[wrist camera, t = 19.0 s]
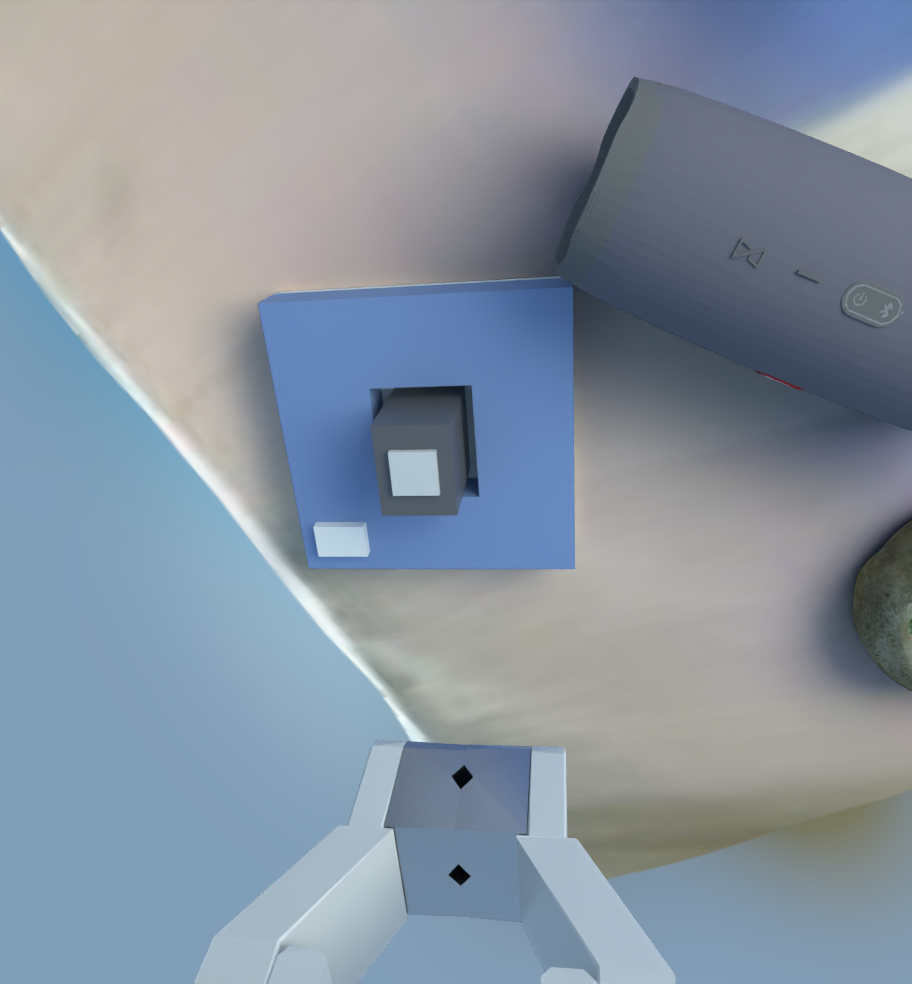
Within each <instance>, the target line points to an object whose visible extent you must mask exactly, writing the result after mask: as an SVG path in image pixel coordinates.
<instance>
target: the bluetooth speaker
mask: <svg viewBox="0 0 912 984" xmlns="http://www.w3.org/2000/svg"><path fill="white" fill-rule="evenodd" d="M552 272H553V273H554V274H556V275H558V276H559V277H561V278H563V279H564V280H566V281H568V282H570V283H571V284H573V285H574V286H576V287H578V288H579V289H581V290H583V291H585V292H587V293H589V294H590V295H592V296H594V297H596V298H598V299H600V300H602V301H604V302H606V303H608V304H610V305H612V306H615V307H617V308H619V309H621V310H623V311H625V312H627V313H629V314H631V315H634V316H636V317H638V318H640V319H642V320H644V321H646V322H648V323H651V324H653V325H655V326H657V327H659V328H661V329H663V330H666V331H668V332H670V333H672V334H674V335H677V336H679V337H681V338H683V339H686V340H688V341H690V342H692V343H695V344H697V345H699V346H701V347H704V348H706V349H708V350H710V351H713V352H715V353H717V354H719V355H722V356H724V357H726V358H728V359H731V360H733V361H735V362H737V363H740V364H742V365H744V366H747V367H749V368H752V369H754V370H755V371H756V372H758V373H759V374H761V375H763V376H764V377H766V378H769V379H771V380H773V381H776V382H778V383H781V384H784V385H786V386H788V387H789V386H791V387H793V388H795V389H800V390H805V391H807V392H810V393H812V394H815V395H817V396H820V397H823V398H825V399H828V400H830V401H833V402H835V403H838V404H841V405H843V406H846V407H848V408H851V409H854V410H856V411H859V412H862V413H864V414H867V415H870V416H872V417H875V418H877V419H880V420H883V421H885V422H888V423H891V424H893V425H896V426H899V427H902V428H904V429H907V430H910V431H912V179H911V178H909V177H907V176H904V175H902V174H900V173H898V172H895V171H893V170H891V169H888V168H886V167H884V166H881V165H879V164H877V163H874V162H872V161H869V160H867V159H864V158H862V157H860V156H857V155H855V154H852V153H850V152H847V151H845V150H842V149H840V148H837V147H835V146H832V145H830V144H827V143H825V142H822V141H820V140H817V139H815V138H812V137H810V136H807V135H805V134H802V133H800V132H797V131H795V130H792V129H790V128H787V127H785V126H782V125H779V124H777V123H774V122H771V121H769V120H766V119H763V118H760V117H758V116H755V115H752V114H750V113H747V112H744V111H742V110H739V109H736V108H734V107H731V106H728V105H725V104H723V103H720V102H717V101H715V100H712V99H709V98H707V97H704V96H701V95H698V94H696V93H692V92H689V91H686V90H683V89H680V88H677V87H673V86H669V85H665V84H661V83H658V82H654V81H650V80H645V79H641V78H636V77H634V78H633V79H632V80H631V82H630V84H629V85H628V87H627V89H626V91H625V93H624V95H623V97H622V99H621V101H620V103H619V105H618V107H617V109H616V111H615V113H614V115H613V117H612V119H611V122H610V124H609V126H608V128H607V130H606V133H605V136H604V138H603V141H602V144H601V147H600V151H599V155H598V158H597V161H596V164H595V167H594V169H593V172H592V174H591V176H590V179H589V181H588V183H587V185H586V187H585V189H584V191H583V193H582V195H581V197H580V198H579V200H578V202H577V204H576V205H575V207H574V209H573V211H572V214H571V216H570V218H569V220H568V223H567V226H566V228H565V231H564V234H563V236H562V239H561V242H560V245H559V247H558V250H557V253H556V256H555V259H554V263H553V266H552Z"/></svg>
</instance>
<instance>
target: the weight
mask: <svg viewBox="0 0 912 984" xmlns="http://www.w3.org/2000/svg"><path fill="white" fill-rule="evenodd" d="M853 622H854V626H855V628H856V631H857V633H858V635H859V638H860V640H861V642H862V644H863V646H864V647H865V649H866V651H867V652H868V654H869V656H870V657H871V658H872V659H873V661H874V662H875V663H876V664H877V665H878V666H879V668H880V669H881V670H882V671H883V672H884V673H885V674H886V675H887V676H888V677H890V678H891V679H892V680H894V681H895V682H896V683H898V684H899V685H901V686H903V687H904V688H906V689H908V690H910V691H912V520H911V521H910V522H908V523H907V524H906V525H904V526H903V527H902V528H900V529H899V530H898V531H897V532H896V533H895V534H894V535H893V536H892V537H891V538H890V539H889V540H888V541H887V542H886V543H885V545H884V546H883V547H882V549H881V550H880V551H878V552H877V553H876V554H875V555H873V556H872V557H871V558H870V559H869V560H868V561H867V562H866V563H865V564H864V566H863V567H862V568H861V570H860V571H859V573H858V575H857V580H856V584H855V588H854V602H853Z"/></svg>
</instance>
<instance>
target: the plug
mask: <svg viewBox="0 0 912 984" xmlns="http://www.w3.org/2000/svg"><path fill="white" fill-rule="evenodd" d="M370 428H371V436H372V444H373V451H374V459H375V467H376V475H377V482H378V490H379V498H380V506H381V513H382V516H458V512H459V508H460V504H461V501H462V497H463V493H464V489H465V485H466V482H467V478H468V474H469V470H470V457H469V442H468V427H467V412H466V397H465V386H436V387H404V388H394V389H393V391H392V393H391V394H390V396H389V397H388V399H387V400H386V402H385V404H384V405H383V407H382V408H381V410H380V411H379V413H378V415H377V416H376V418H375V419H374V421H373V423H372V424H371V426H370Z"/></svg>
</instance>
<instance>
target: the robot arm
mask: <svg viewBox="0 0 912 984" xmlns="http://www.w3.org/2000/svg"><path fill="white" fill-rule="evenodd" d="M407 914H408V915H432V916H456V917H457V916H459V917H471V918H480V919H491V920H500V921H510V922H520V923H522V927H523V929H524V931H525V933H526V935H527V937H528V939H529V941H530V943H531V945H532V947H533V949H534V951H535V954H536V955H537V957H538V960H539V962H540V964H541V966H542V967H543V969H544V971H545V973H544V974H543V975H542V976H541V984H676V980H675V974H674V973H673V972H672V970H671V969H670V968H669V966H668V965H667V963H666V962H665V960H664V959H663V958H662V956H661V955H660V954H659V952H658V951H657V949H656V948H655V947H654V945H653V944H652V942H651V941H650V940H649V938H648V937H647V935H646V934H645V933H644V931H643V930H642V928H641V927H640V926H639V924H638V923H637V922H636V920H635V919H634V917H633V916H632V915H631V913H630V912H629V910H628V909H627V908H626V906H625V905H624V903H623V902H622V901H621V899H620V898H619V897H618V895H617V894H616V892H615V891H614V890H613V888H612V887H611V885H610V884H609V883H608V881H607V880H606V878H605V877H604V876H603V874H602V873H601V872H600V870H599V869H598V867H597V866H596V865H595V863H594V862H593V860H592V859H591V858H590V856H589V855H588V854H587V852H586V851H585V849H584V848H583V847H582V845H581V844H580V842H579V841H578V840H577V839H575V838H567V794H566V751H565V748H564V747H544V746H506V745H459V744H443V743H427V742H411V741H407V742H399V741H385V740H376V741H375V742H374V744H373V745H372V747H371V749H370V752H369V755H368V758H367V762H366V765H365V768H364V771H363V775H362V778H361V781H360V785H359V788H358V791H357V795H356V797H355V801H354V804H353V807H352V811H351V814H350V817H349V820H348V824H347V826H337V827H335V828H334V829H333V830H332V831H331V832H330V833H329V834H328V835H327V836H325V838H323V839H322V840H321V841H320V842H319V843H318V844H316V845H315V846H314V847H313V848H312V849H311V850H310V851H309V852H308V853H306V855H304V856H303V857H302V858H301V859H300V860H299V861H298V862H296V863H295V864H294V865H293V866H292V867H291V868H290V869H289V870H288V871H287V872H285V873H284V874H283V875H282V876H281V877H280V878H279V879H278V880H276V881H275V882H274V883H273V884H272V885H271V886H270V887H269V888H268V889H266V890H265V891H264V892H263V893H262V894H261V895H260V896H259V897H258V898H256V900H254V901H253V902H252V903H251V904H250V905H249V906H248V907H246V908H245V909H244V910H243V911H242V912H241V913H240V914H239V915H237V917H235V918H234V919H233V920H232V921H231V922H230V923H229V924H228V925H226V926H225V927H224V928H223V929H222V930H221V931H220V932H219V933H218V934H216V935H215V936H214V938H213V940H212V943H211V945H210V947H209V950H208V952H207V954H206V956H205V959H204V961H203V963H202V966H201V968H200V970H199V973H198V975H197V977H196V980H195V982H194V984H358V983H359V981H360V980H361V979H362V977H363V976H364V975H365V974H366V972H367V971H368V970H369V968H370V967H371V965H372V964H373V963H374V962H375V960H376V959H377V958H378V957H379V955H380V954H381V953H382V951H383V950H384V949H385V947H386V946H387V945H388V943H389V942H390V941H391V939H392V938H393V937H394V936H395V934H396V933H397V932H398V930H399V929H400V928H401V926H402V925H403V924H404V922H405V921H406V920H407Z"/></svg>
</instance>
